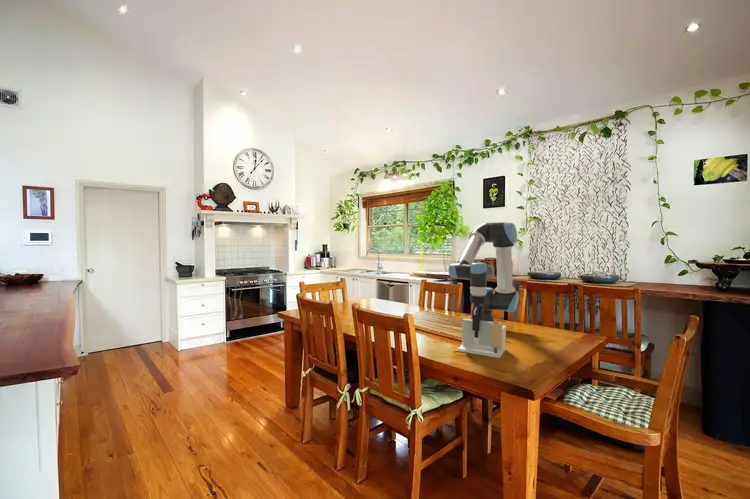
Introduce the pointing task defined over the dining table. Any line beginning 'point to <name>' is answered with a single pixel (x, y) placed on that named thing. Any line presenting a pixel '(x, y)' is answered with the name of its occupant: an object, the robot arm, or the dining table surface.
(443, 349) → the dining table surface
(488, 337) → the door
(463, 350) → the box
